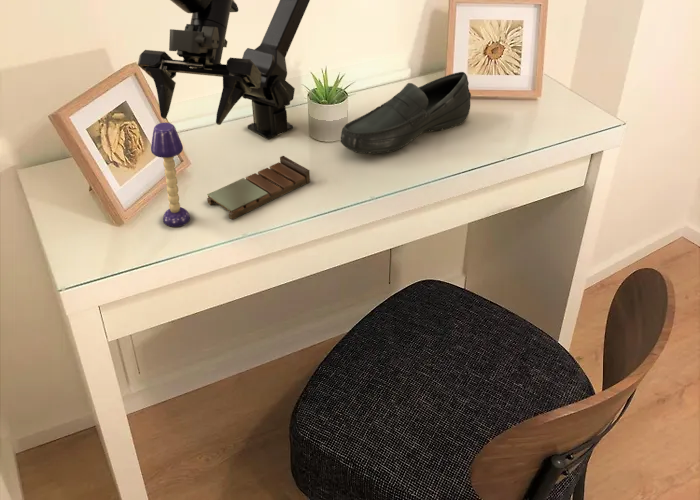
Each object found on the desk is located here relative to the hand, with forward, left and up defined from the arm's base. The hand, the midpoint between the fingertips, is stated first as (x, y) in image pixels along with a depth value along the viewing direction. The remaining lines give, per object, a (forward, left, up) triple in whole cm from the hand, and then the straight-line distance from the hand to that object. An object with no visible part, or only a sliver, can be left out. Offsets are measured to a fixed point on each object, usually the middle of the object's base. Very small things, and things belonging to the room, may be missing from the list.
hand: (190, 121), depth 119 cm
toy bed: (+6, +7, -14) cm, 17 cm away
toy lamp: (+4, -7, -14) cm, 16 cm away
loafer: (+10, +40, -14) cm, 43 cm away
